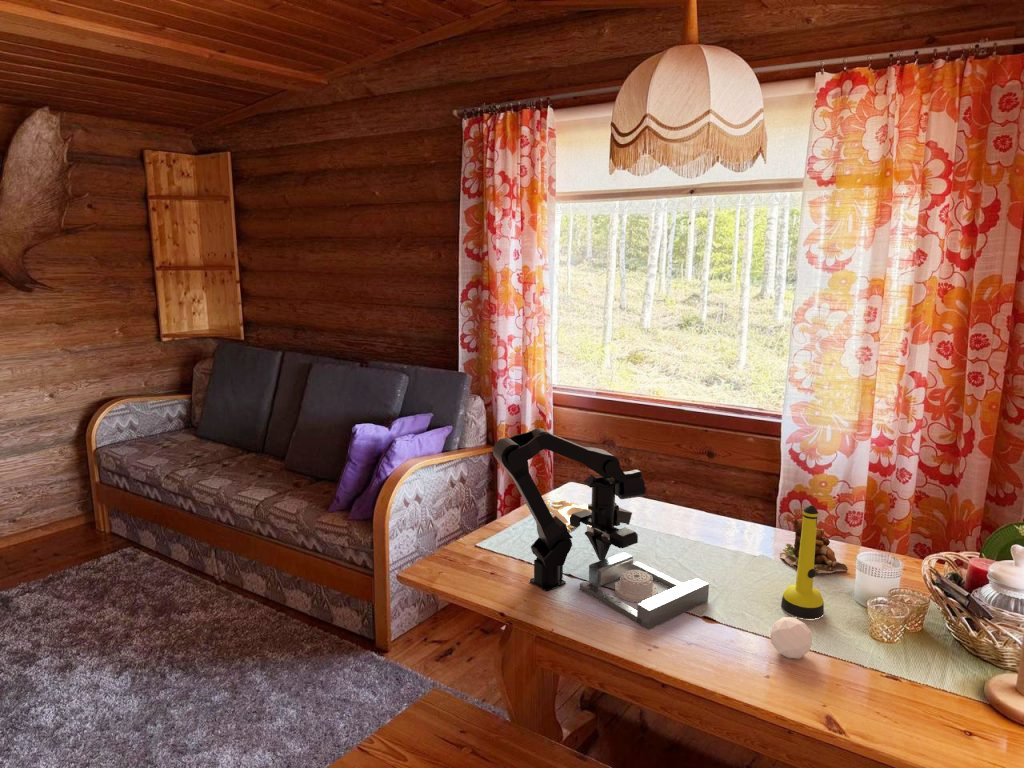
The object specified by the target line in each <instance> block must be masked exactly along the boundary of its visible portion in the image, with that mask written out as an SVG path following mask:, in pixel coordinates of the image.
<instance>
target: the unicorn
mask: <svg viewBox="0 0 1024 768" xmlns="http://www.w3.org/2000/svg"><path fill="white" fill-rule="evenodd" d="M545 504H546V506H547V508H548V509H549V511H550V513H551V515H552V517H553V518H554V517H555V516H557V517H558V518H559V519H560V520H561V521H562V522H563V523H564V524H566V527H567V529H568V532H569V533H571V532H572V529H574V528H575V527H574V526H571V525H570V517H571V515H572V514H573V513H576V512H580V511H583V510H586V511H589V512H591V510H590V509H588V505H589V504H590V503H589V504H581V505H580V504H577V503H575V502H571V501H566V500H564V499H562V500H557V501H551V504H552V505H550V500H548V501H545Z"/></svg>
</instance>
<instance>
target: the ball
mask: <svg viewBox="0 0 1024 768" xmlns="http://www.w3.org/2000/svg"><path fill="white" fill-rule="evenodd" d="M770 643H771V645H772V646H773V648H774V649H775V650H776V652H778V653H779V654H780V655H782V656H784V657H785V658H788V659H801V658H802V657H804V656H805V655H806V654H808V653H809V651H810V650H811V648H812V646H813V638H812V631H811V630H810V628H809V627H808V625H806V623H805V622H803V621H801V619H797V618H795V617H791V616H788V617H787V616H786V617H785V616H782V617H781V618H780V619H778V620H777V621H775V622H774V623H773V625H772V627H771V629H770Z"/></svg>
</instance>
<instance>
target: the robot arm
mask: <svg viewBox="0 0 1024 768" xmlns="http://www.w3.org/2000/svg"><path fill="white" fill-rule="evenodd" d="M543 450H547V451H550V452H552V453H555V454H558V455H561V456H562V457H565V458H568V459H570V460H573V461H575V462H578V463H580V464H583V465H584V466H586V467H587V468H589V470H592V471H594V472H595V473H596V474H598V475H600V476H597V477H596V476H595V475H593V474H590V475H589V477H587V478H586V479H584V481H583V484H585V485H586V486H587V487H589V488H591V503H589V505H588V504H587V505H588V509H590V510H591V512H589V511H586V510H583V511H580V512H576V513H573V514H572V515H571V517H570V525H571V526H574V528H579V527H580V526H581V523H582V524H584V525H585V527H586V531H585V532H584V536H586V537H587V539H588V541H589V543H590V544H591V546H592V548H593V550H594V553H595V554H596V556H597V558H598V561H601V560H604V559H606V558H607V555H608V552H609V549H610V548H611V546H614V547H616V548H619V549H625V548H628V547H630V546H633V545H635V544H638V542H639V541H638V540H639V539H638V538H639V537H638V533H637V531H635V530H632V529H629V528H628V527H622V528H618V527H619V526H621V524H626V525H630V522H631V519H632V517H633V516H632V515H633V512H632V511H629V510H627V509H624V508H622V507H619V505H618V504H617V503H616V497H618V499H619V500H627V499H634V498H641V497H644V496H645V495H646V491H647V486H646V483H645V480H644V478H643V477H642V471H640V470H639V469H633V470H629V471H623V469H622V468H621V467H620V466H621V465H620V460H619V458H618V457H617V456H615V455H613V454H612V453H610V452H608V451H606V450H605V449H602V448H597V447H593V446H592V447H591V446H590V447H589V446H588V447H587V446H582V445H580V444H578V443H576V442H573V441H571V440H568V439H565V438H563V437H561V436H558V435H555V434H553V433H551V432H549V431H547V430H546V429H543V428H541V427H536V428H534V429H532V430H529V431H527V432H522V433H518V434H515V435H513V436H510V437H502V438H500V439H498V440H497V441H496V442H495V444H494V445H493V448H492V455H493V457H494V459H496V461H497V462H498V463H499V465H500V466H501V467H502V468H503V469H504V470H505V472H506V473H508V475H509V476H510V478H512V481H513V482H514V483H515V484H514V485H515V486H516V488H517V489H518V491H519V493H520V495H521V496H522V499H523V500H524V502H525V504H526V506H527V508H528V510H529V512H530V513H531V516H532V517H533V520H534V521H535V523H536V531H537V534H538V537H537V539H535V541H534V543H532V545H531V546H530V550H531V553H533V555H535V557H536V559H534V561H533V577H532V578H530V579H529V582H530V583H532V584H533V585H535V586H537V587H539V588H540V589H541V590H543V591H545V592H549V591H550V590H553V589H557V588H559V587H561V586H564V585H566V584H567V581H565V580H564V579H563V578H564V571H563V570H564V565H565V562H566V560H567V557H568V554H569V553H570V551H571V549H572V547H573V542H572V539H573V536H572V535H571V534H570V531H569V530H568V529H567V527H566V524H564V523H563V522H562V521H561V520H560V519H559V518H558V517H557V516H555V517H554V518H553V517H552V515H551V514H552V512H550V511H549V509H548V508H547V506H546V501H545V500H544V498H543V497H542V494H541V492H540V491H539V488H538V487H537V485H536V483H535V481H534V478H533V477H532V475H531V473H530V468H529V460H531V459H533V458H535V456H536V455H537V454H539V453H540V452H541V451H543Z"/></svg>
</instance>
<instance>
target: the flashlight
mask: <svg viewBox="0 0 1024 768" xmlns="http://www.w3.org/2000/svg"><path fill="white" fill-rule="evenodd" d="M802 516H803V522H802V532H801V541H800V550H799V559H798V566H797V571H796V580H795V583H794V584H793V583H792V584H790V585H788V586H787V587H786V588H785V590H784V591H783V592H782V597H781V604H780V609H781V610H782V611H783V612H784V614H787V616H789V615H790V616H789V617H791V616H793V617H797V618H803V619H815V618H819V617H821V616H822V615H823V614H824V613H825V611H824V609H825V603H824V602H825V601H824V598H823V596H822V594H821V592H820V591H819V590H818V589H817V588H815V587H814V578H816V575H817V572H816V571H815V570H814V559H815V544H816V529H817V528H818V527H817V525H818V517H819V516H820V515H819V510H818V509H817V508H816V506H814V505H813V504H809V505H806V507H804V509H803V510H802ZM797 618H796V619H797Z"/></svg>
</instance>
